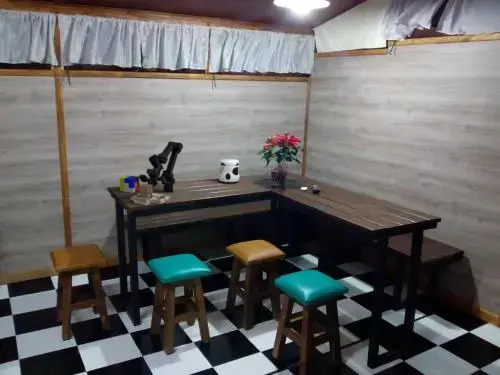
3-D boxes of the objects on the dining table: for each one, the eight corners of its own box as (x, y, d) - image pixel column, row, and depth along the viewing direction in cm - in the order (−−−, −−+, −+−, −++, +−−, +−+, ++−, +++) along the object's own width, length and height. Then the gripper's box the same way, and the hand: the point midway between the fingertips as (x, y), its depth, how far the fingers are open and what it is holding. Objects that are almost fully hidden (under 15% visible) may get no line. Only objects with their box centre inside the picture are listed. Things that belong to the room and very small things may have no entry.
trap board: (143, 194, 307) (143, 189, 307) (172, 197, 301) (172, 192, 300) (125, 202, 285) (125, 196, 285) (155, 206, 279) (155, 200, 278)
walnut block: (144, 197, 293) (144, 184, 291) (152, 198, 291) (152, 184, 289) (139, 199, 287) (139, 185, 285) (147, 200, 285) (147, 186, 283)
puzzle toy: (133, 192, 312) (132, 179, 310) (120, 191, 314) (119, 177, 311) (139, 189, 321) (139, 176, 319) (126, 188, 323) (126, 175, 321)
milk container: (214, 181, 360) (214, 159, 356) (230, 178, 372) (230, 158, 368) (227, 185, 348) (228, 162, 344) (243, 182, 359) (244, 161, 356)
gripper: (140, 162, 295) (131, 181, 287) (164, 165, 290) (156, 184, 282) (146, 172, 304) (137, 190, 296) (170, 174, 299) (162, 193, 291)
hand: (148, 189), depth 291 cm, fingers closed
